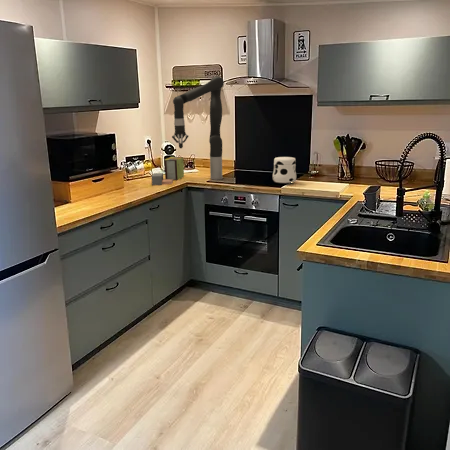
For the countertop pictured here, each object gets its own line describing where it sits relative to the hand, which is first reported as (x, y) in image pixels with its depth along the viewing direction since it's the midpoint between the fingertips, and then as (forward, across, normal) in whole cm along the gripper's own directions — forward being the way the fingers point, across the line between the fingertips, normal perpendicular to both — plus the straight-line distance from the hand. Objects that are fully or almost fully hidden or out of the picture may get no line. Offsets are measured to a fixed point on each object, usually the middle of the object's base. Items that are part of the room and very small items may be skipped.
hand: (180, 148), depth 339 cm
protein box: (+25, +7, -12) cm, 28 cm away
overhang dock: (+24, +18, +8) cm, 31 cm away
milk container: (+26, -75, +16) cm, 81 cm away
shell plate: (+25, +14, +8) cm, 30 cm away
